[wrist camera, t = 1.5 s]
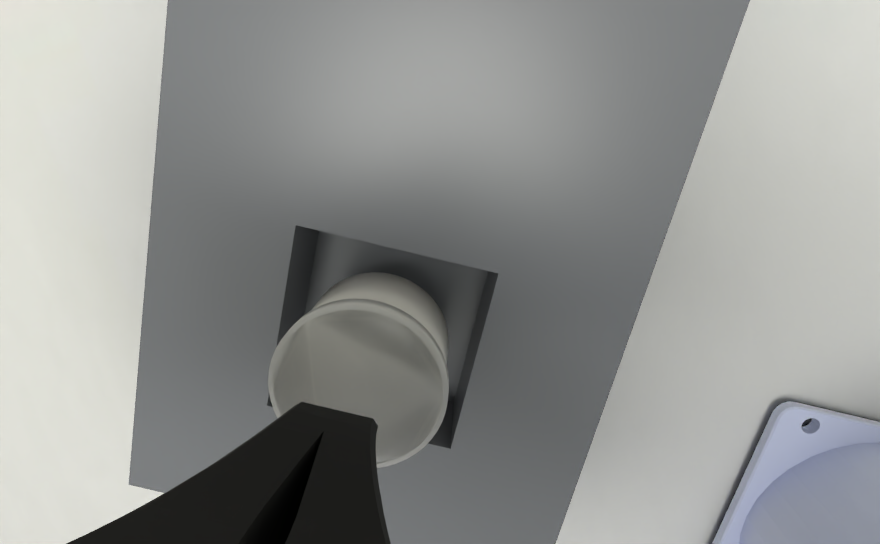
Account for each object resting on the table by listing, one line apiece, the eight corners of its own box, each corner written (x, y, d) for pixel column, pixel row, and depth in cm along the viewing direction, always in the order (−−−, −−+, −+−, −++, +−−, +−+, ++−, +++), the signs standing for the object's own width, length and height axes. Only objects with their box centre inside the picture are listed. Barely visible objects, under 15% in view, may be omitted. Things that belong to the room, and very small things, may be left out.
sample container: (468, 288, 14) (467, 330, 11) (433, 420, 15) (425, 486, 12) (318, 252, 14) (282, 286, 11) (294, 387, 15) (256, 446, 12)
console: (288, -543, 12) (229, -756, 9) (836, -404, 12) (953, -569, 9) (182, 426, 19) (128, 484, 16) (531, 508, 19) (542, 580, 16)
